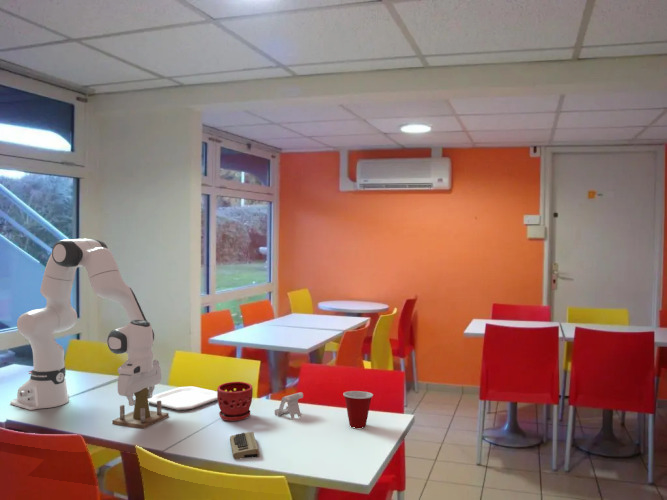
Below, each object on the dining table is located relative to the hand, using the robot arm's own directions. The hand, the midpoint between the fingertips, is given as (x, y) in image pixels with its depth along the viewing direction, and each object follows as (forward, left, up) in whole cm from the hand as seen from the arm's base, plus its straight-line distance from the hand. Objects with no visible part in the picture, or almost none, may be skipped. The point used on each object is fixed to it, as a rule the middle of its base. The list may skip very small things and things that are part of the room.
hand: (140, 401), depth 208 cm
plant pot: (+31, +15, -7) cm, 35 cm away
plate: (+1, +26, -8) cm, 27 cm away
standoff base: (0, 0, -7) cm, 7 cm away
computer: (+49, -10, -8) cm, 51 cm away
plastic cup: (+77, +23, -7) cm, 81 cm away
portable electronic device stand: (+49, +25, -7) cm, 55 cm away
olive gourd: (0, 0, -6) cm, 6 cm away
